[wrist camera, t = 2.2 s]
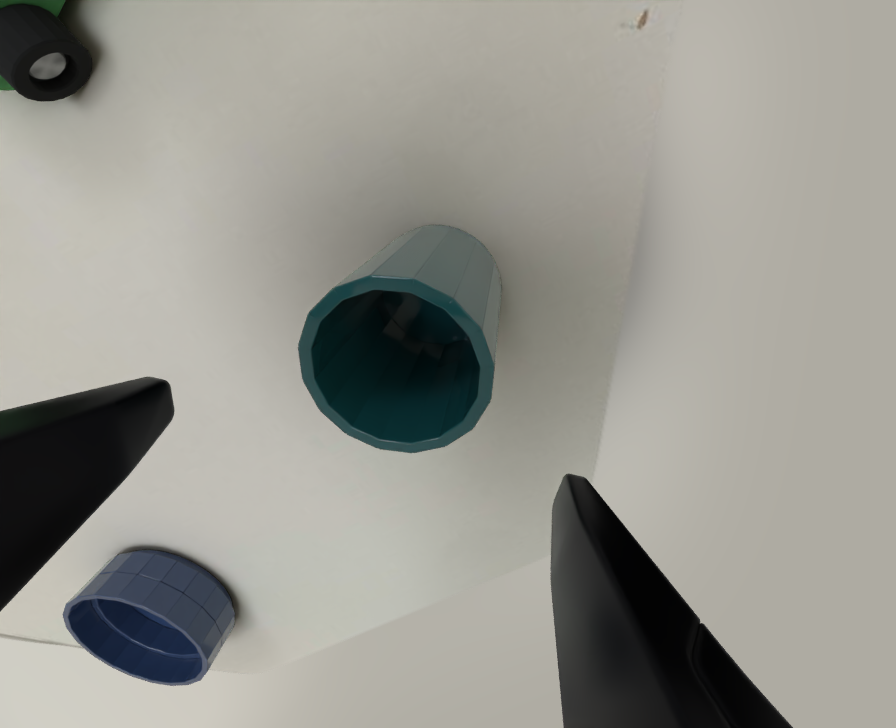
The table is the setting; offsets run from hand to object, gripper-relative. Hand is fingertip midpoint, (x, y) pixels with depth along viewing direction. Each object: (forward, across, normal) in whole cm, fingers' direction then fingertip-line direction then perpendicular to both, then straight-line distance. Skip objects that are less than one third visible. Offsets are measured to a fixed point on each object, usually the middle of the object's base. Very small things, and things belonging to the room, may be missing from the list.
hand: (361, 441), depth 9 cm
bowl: (+11, +17, +29) cm, 35 cm away
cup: (+11, 0, 0) cm, 11 cm away
